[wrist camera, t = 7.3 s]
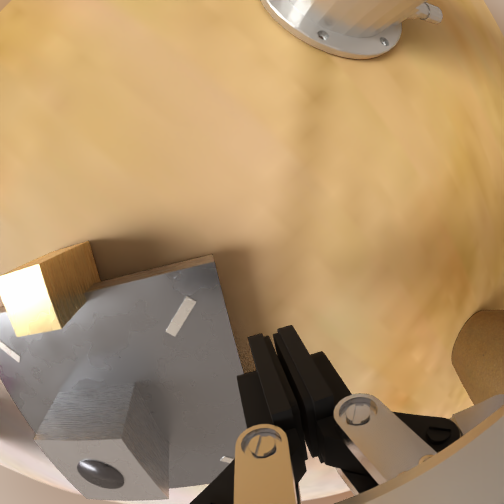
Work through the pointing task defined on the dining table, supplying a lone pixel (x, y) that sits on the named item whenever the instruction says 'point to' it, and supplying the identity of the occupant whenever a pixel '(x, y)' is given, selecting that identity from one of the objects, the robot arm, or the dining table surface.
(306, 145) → the dining table surface
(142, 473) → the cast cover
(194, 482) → the grey mounting base
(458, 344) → the plant pot
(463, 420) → the robot arm
